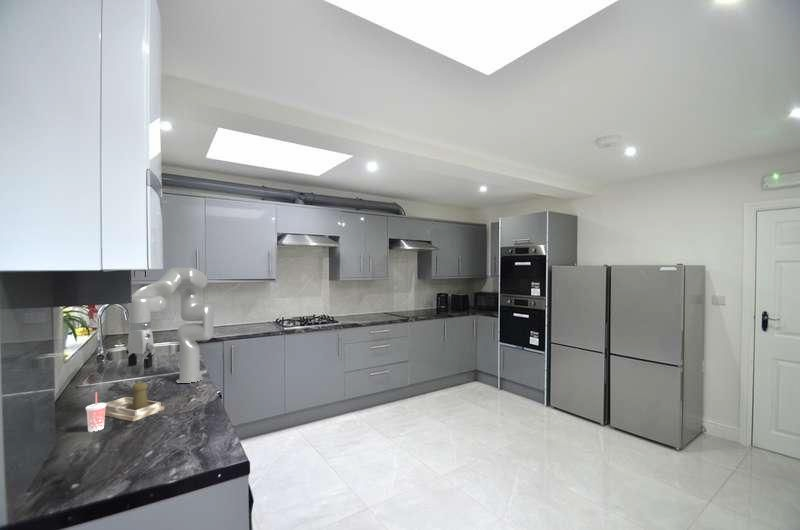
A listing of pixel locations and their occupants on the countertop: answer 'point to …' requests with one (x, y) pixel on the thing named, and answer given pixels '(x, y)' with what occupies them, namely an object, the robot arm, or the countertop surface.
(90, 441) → the countertop surface
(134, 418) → the spice holder
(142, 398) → the cork
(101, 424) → the beverage cup
